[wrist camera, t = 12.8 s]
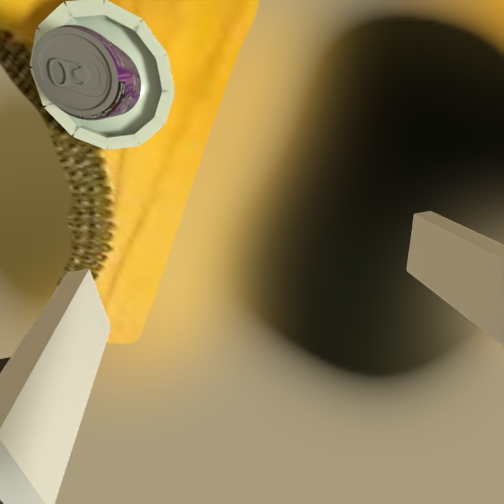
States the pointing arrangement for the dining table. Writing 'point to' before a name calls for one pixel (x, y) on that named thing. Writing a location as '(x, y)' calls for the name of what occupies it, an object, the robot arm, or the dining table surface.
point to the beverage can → (85, 73)
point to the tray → (144, 57)
